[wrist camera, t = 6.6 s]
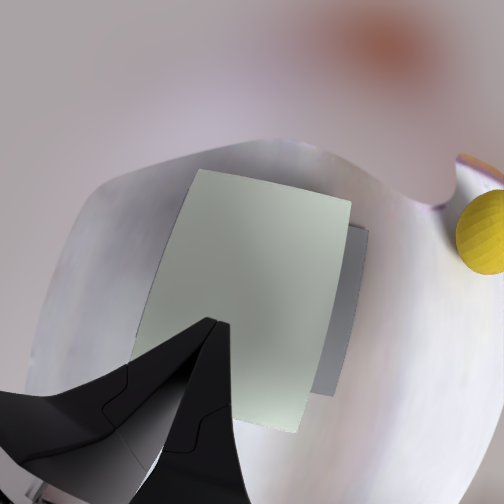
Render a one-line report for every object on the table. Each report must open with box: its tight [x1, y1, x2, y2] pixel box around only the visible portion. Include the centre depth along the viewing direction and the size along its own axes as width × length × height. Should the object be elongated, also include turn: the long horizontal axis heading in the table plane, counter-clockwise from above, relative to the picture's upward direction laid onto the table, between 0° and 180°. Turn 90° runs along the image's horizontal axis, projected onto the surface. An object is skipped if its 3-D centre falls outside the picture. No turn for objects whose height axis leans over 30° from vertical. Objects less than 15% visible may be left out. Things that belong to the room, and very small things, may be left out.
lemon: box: [456, 190, 504, 275], centre depth 13 cm, size 6×6×8 cm
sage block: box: [130, 169, 352, 433], centre depth 14 cm, size 5×8×11 cm
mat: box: [136, 189, 368, 396], centre depth 17 cm, size 11×13×1 cm
